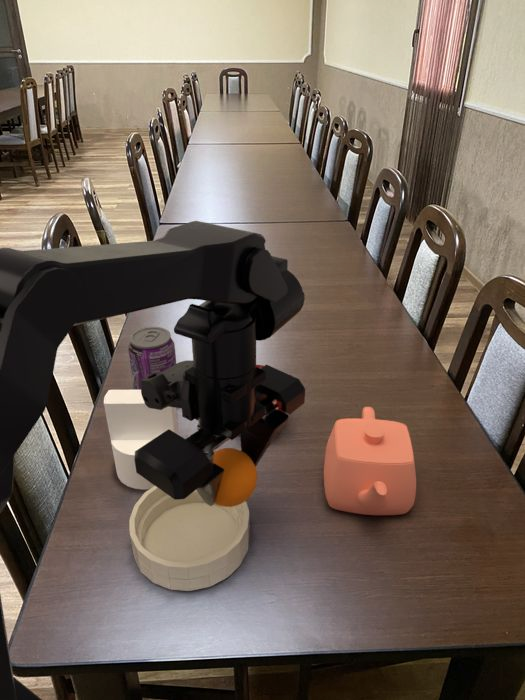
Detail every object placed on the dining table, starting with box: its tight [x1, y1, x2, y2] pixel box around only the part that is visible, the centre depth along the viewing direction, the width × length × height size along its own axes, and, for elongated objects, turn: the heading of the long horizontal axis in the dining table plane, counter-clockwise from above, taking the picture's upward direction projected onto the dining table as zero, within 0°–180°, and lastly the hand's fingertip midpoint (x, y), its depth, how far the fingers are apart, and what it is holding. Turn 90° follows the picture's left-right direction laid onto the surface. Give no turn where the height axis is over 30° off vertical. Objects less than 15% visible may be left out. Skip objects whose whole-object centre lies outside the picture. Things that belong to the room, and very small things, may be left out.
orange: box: [213, 447, 258, 507], centre depth 56 cm, size 6×6×6 cm
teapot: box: [323, 406, 417, 516], centre depth 68 cm, size 12×18×10 cm, turn 175°
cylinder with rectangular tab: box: [103, 389, 180, 490], centre depth 72 cm, size 9×9×12 cm
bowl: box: [128, 486, 251, 592], centre depth 63 cm, size 14×14×4 cm
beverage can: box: [127, 326, 177, 390], centre depth 85 cm, size 7×7×12 cm
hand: (229, 485), depth 57 cm, fingers closed on orange, 6 cm apart
